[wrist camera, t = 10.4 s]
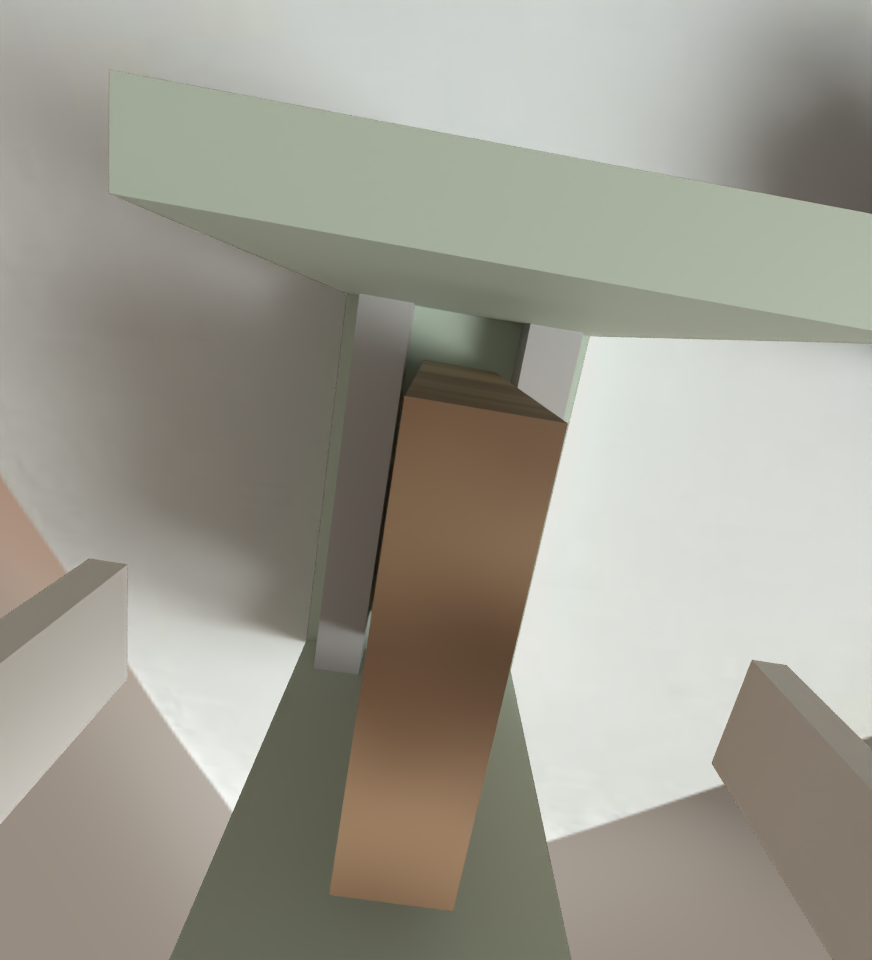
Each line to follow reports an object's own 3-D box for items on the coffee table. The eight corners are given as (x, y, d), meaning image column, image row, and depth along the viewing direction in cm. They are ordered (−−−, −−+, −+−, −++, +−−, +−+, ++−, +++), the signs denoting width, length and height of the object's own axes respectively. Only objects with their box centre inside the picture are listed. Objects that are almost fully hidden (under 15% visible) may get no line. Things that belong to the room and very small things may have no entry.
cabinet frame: (356, 266, 23) (108, 69, 6) (587, 307, 23) (999, 238, 6) (311, 644, 27) (105, 1145, 11) (502, 673, 28) (599, 1200, 11)
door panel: (423, 359, 22) (404, 395, 10) (495, 372, 22) (568, 423, 10) (383, 615, 25) (329, 894, 13) (446, 625, 25) (453, 911, 13)
